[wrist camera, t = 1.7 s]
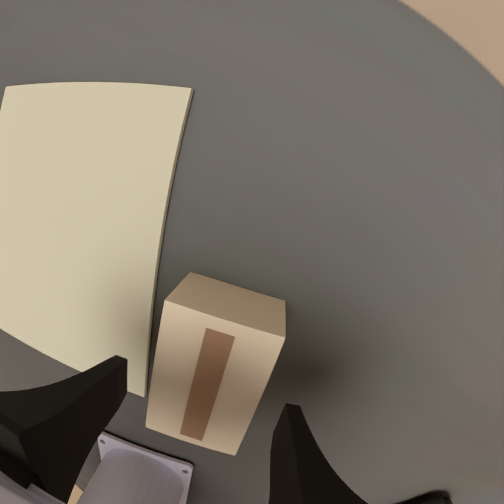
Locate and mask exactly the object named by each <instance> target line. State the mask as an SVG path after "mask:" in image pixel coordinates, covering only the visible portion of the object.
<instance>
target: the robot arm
mask: <svg viewBox="0 0 504 504" xmlns="http://www.w3.org/2000/svg"><path fill="white" fill-rule="evenodd" d="M127 367H128V359H126V358H123V357H121V356H118V355H114V356H113V357H111V358H109V359H107V360H105V361H103V362H101V363H99V364H97V365H95V366H94V367H92V368H90V369H88V370H86V371H84V372H82V373H79V374H77V375H75V376H72V377H70V378H68V379H65V380H63V381H60V382H57V383H54V384H50V385H47V386H43V387H38V388H33V389H28V390H20V391H7V392H0V504H67V503H68V500H69V497H70V495H71V492H72V489H73V487H74V485H75V482H76V480H77V478H78V475H79V473H80V471H81V469H82V467H83V464H84V462H85V460H86V458H87V456H88V454H89V452H90V450H91V449H92V447H93V445H94V443H95V442H96V440H97V439H98V445H99V451H100V456H101V463H100V464H99V466H98V468H97V469H96V471H95V473H94V475H93V476H92V478H91V480H90V481H89V483H88V485H87V486H86V488H85V490H84V492H83V493H82V495H81V497H80V499H79V500H78V502H77V504H186V501H187V496H188V491H189V486H190V482H191V477H192V472H193V465H192V464H191V463H189V462H186V461H182V460H179V459H176V458H172V457H169V456H166V455H163V454H160V453H157V452H154V451H151V450H148V449H146V448H143V447H140V446H138V445H135V444H132V443H130V442H127V441H125V440H122V439H120V438H117V437H115V436H113V435H110V434H108V433H106V432H103V430H104V429H105V427H106V426H107V424H108V423H109V422H110V420H111V419H112V417H113V416H114V414H115V413H116V412H117V410H118V409H119V407H120V405H121V403H122V401H123V399H124V397H125V395H126V393H127ZM269 504H368V503H366V502H365V501H364V500H362V499H361V498H360V497H359V496H358V495H356V494H355V493H354V492H353V491H352V490H351V489H350V488H349V487H348V486H347V485H346V484H345V483H344V482H343V481H342V480H341V478H340V477H339V476H338V475H337V474H336V472H335V471H334V470H333V468H332V467H331V466H330V464H329V463H328V461H327V460H326V458H325V457H324V455H323V454H322V452H321V450H320V448H319V447H318V445H317V443H316V441H315V439H314V437H313V435H312V433H311V431H310V429H309V427H308V424H307V422H306V420H305V417H304V415H303V412H302V410H301V407H300V406H298V405H293V404H288V403H286V404H285V407H284V409H283V411H282V414H281V416H280V418H279V421H278V423H277V425H276V428H275V430H274V432H273V438H272V445H271V456H270V498H269Z"/></svg>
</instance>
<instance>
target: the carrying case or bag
mask: <svg viewBox="0 0 504 504" xmlns="http://www.w3.org/2000/svg"><path fill="white" fill-rule="evenodd" d="M403 504H452V501H451V499H450V498H449V497H443V496H438V495H436V494H429V495H425V496H422V497H420V498H417V499H414V500H412V501H409V502H406V503H403Z"/></svg>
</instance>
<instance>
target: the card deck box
mask: <svg viewBox="0 0 504 504" xmlns="http://www.w3.org/2000/svg"><path fill="white" fill-rule="evenodd" d="M285 338H286V315H285V301H284V300H281V299H277V298H274V297H271V296H267V295H264V294H261V293H257V292H254V291H251V290H247V289H244V288H241V287H238V286H234V285H231V284H228V283H225V282H221V281H218V280H215V279H212V278H209V277H206V276H203V275H199V274H196V273H193V272H190V273H189V274H188V275H187V276H186V277H185V278H184V279H183V280H182V281H181V282H180V283H179V285H178V286H177V287H176V288H175V289H174V290H173V291H172V292H171V293H170V295H169V296H168V297H167V298H166V299H165V301H164V306H163V312H162V317H161V323H160V328H159V334H158V340H157V346H156V352H155V359H154V365H153V372H152V379H151V386H150V393H149V401H148V409H147V417H146V426H145V427H147V428H150V429H152V430H155V431H158V432H160V433H163V434H166V435H169V436H171V437H174V438H177V439H180V440H183V441H186V442H189V443H192V444H195V445H199V446H202V447H205V448H209V449H212V450H216V451H219V452H223V453H227V454H230V455H234V456H235V455H236V453H237V450H238V448H239V446H240V444H241V442H242V440H243V437H244V435H245V433H246V431H247V429H248V426H249V424H250V422H251V420H252V417H253V415H254V413H255V410H256V408H257V406H258V404H259V401H260V399H261V397H262V394H263V392H264V390H265V387H266V385H267V382H268V380H269V378H270V375H271V373H272V370H273V368H274V365H275V363H276V361H277V358H278V356H279V353H280V351H281V348H282V346H283V343H284V341H285Z"/></svg>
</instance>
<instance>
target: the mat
mask: <svg viewBox="0 0 504 504" xmlns="http://www.w3.org/2000/svg"><path fill="white" fill-rule="evenodd" d="M193 92H194V90H193V89H192V88H183V87H174V86H164V85H152V84H137V83H115V82H63V83H42V84H29V85H18V86H8V87H6V89H5V93H4V97H3V101H2V106H1V110H0V328H1V329H2V330H4V331H5V332H7V333H9V334H10V335H12V336H14V337H15V338H17V339H19V340H21V341H22V342H24V343H26V344H28V345H29V346H31V347H33V348H35V349H37V350H39V351H40V352H42V353H44V354H46V355H48V356H50V357H52V358H54V359H56V360H58V361H60V362H62V363H64V364H66V365H68V366H70V367H72V368H74V369H77V370H79V371H81V372H84V371H86V370H88V369H90V368H92V367H94V366H95V365H97V364H99V363H101V362H103V361H105V360H107V359H109V358H111V357H113V356H114V355H118V356H121V357H123V358H126V359H128V367H127V391H129V392H131V393H134V394H137V395H139V396H142V397H145V395H146V393H147V375H148V361H149V348H150V336H151V326H152V316H153V307H154V298H155V290H156V282H157V274H158V267H159V260H160V253H161V246H162V240H163V233H164V227H165V221H166V215H167V210H168V204H169V199H170V193H171V188H172V183H173V178H174V173H175V168H176V163H177V158H178V154H179V149H180V145H181V140H182V136H183V132H184V127H185V123H186V119H187V115H188V111H189V107H190V103H191V99H192V95H193Z"/></svg>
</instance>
